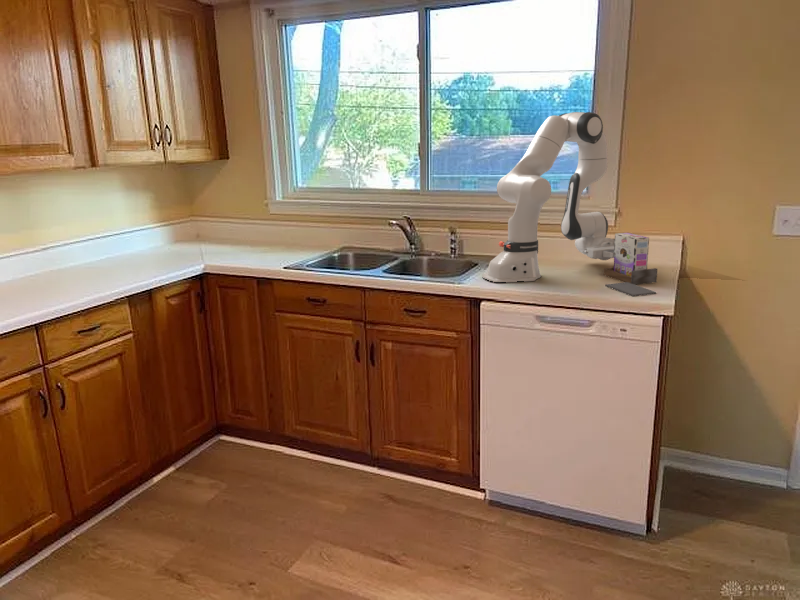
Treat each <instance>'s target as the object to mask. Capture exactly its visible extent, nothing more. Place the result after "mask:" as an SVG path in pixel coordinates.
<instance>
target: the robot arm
mask: <svg viewBox="0 0 800 600" xmlns="http://www.w3.org/2000/svg"><path fill="white" fill-rule="evenodd" d="M603 130H604V124H603V121H602V118H601V116H600V115H599V114H598V113H595V112H590V111H587V112H582V111H581V112H580V111H575V112H574V111H573V112H568V113H561V114H559V115H550V116H548V117H547V118H546V119H545V120H544V122H543V123H542V124H540V127H539V128H538V129H537V131H536V132H535V135H534V137H533V139H532V140H531V142H530V144H529V146H528V148H527V150H526V151H525V153H524V155H522V157H521V159H520V160H519V161H518V162H517V163H516V165H515V166H514V167H513V168H512V169H511V170H510V171H509V172H508V173H506V175H504V176H502V177H501V178H500V179H499V181H498V182H497V184H496V186H497V187H496V193H497V195H498V196H499V197H500V199H502V200H504V201H506V202H507V203H511V204H515V209H514V212H513V214H512V216H510V217H509V218H508V221H507V240H506V241H505V242H504V241H502V240H501V241H499V243H498V245H499V247H502V248H503V249H502V251H501V252H499V254H497V255H496V256H495V257H494V258H493V259H491V260H490V261H489V265H488V270H487V272H484V273H483V274H482V275H481V276H482V277H483V278H485V279H487V280H489V281H488V282H490V281H493V282H492V283H494V282H506V283H518V282H517V281H524V282H535V281H536V280H537V279H539V278H541V276H542V274H541V273H540V267H539V259H538V258H539V257H538V254H539V240H538V227H539V226H538V225H539V218H540V214H541V211H542V208H543V206H544V205H545V203H547V202H548V200H550V197H551V195H552V186H551V183H550V181H548V179H546V178H544V177H542V176H543V174H545V173H547V172H548V171H550V170H551V168H552V167H553V165H554V163H555V161H556V160H557V158H558V157H559V156H558V155H559V154H560V152H561V150H562V148H563V146H564V143H565V142H569V143H570V142H572V143H576V144H577V147H578V159H577V160H578V161H577V167H576V169H575V172H574V173H573V174H572V175H571V176H570V179H569V182H568V187H567V192H566V193H567V194H566V199H565V208H564V213H563V217H562V220H561V222H560V224H561V225H560V231H561V233H562V235H563V236H564V237H565V238H566V239H568V240H570V241H574V240H575V241H574V246H575V248H576V249H577V251H578V252H579V253H581V254H582V255H585V256H587V257H588V258H590V259H593V260H601V261H607V260H611V259H614V258H615V255H616V254H615V253H614V247H615V238H610V237H607V235H608V230H609V221H608V218H607V217H606V216H605V215H604V214H603V212H600V211H592V212H586V213H585V212H584V213H579V208H580V203H581V198H582V197H581V196H582V193H583V192H584V191H585V190H586V189H587V188H588V187H589V186H591V185H592V184H594V183H596V182H598V181H599V180H601V179H602V178H603V177H604V176H605V174H606V173H607V170H608V163H609V162H608V160H609V159H608V156H609V155H608V142H607V138H606V134H605V133H604V132H603ZM485 279H484V280H485ZM487 280H486V281H487Z"/></svg>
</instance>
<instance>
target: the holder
mask: <svg viewBox="0 0 800 600" xmlns="http://www.w3.org/2000/svg"><path fill="white" fill-rule="evenodd" d="M603 275H604V276H605V275H606V277H608V276H609V277H608V278H611V277H612V279H614V280H617V281H619V280H620V282H622V281H623V282H628V283H631V284H634V285H636V284H637V285H644V284H643V283H646V284H653V283H652V282H655V283H658V281H657V280H658V279H657V278H658V268H657V267H656V268H647V269H644V270H635V271H632V274H631V276H628V275H625V274H622V273H619V272H616V271H614V267H607V268H603ZM623 282H622V283H623Z"/></svg>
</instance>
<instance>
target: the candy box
mask: <svg viewBox="0 0 800 600" xmlns="http://www.w3.org/2000/svg"><path fill="white" fill-rule="evenodd" d="M614 239H615V247H614V253H615V254H616V255H615V258H613V268H614V271H616V272H619V273H622V274H625V275H628V276H631V274H632V271H635V270H644V269H648V260H649V259H648V258H649V249H650V247H649V244H650V237H649V236H648V237H647V236H645V235H639V234H635V233H630V232H620V233H615V234H614Z"/></svg>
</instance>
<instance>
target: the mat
mask: <svg viewBox="0 0 800 600" xmlns="http://www.w3.org/2000/svg"><path fill="white" fill-rule="evenodd" d="M606 286H607V288H609V287H610V288H609V289H612V288H613V289H612V290H614V289H615V290H614V291H617V290H618V291H617V292H619V293H622V292H623V293H622V294H625V293H626V294H625V295H628V294H629V295H628V296H630V295H631V297H639V295H641V296H648V295H647V294H650V295H656V294H657V291H655V290H651V289H649V288H646V287H642V286H640V285H638V284H637V285H634V284H631V283H628V282H616V283H609V284H608V283H606V284H605V287H606Z"/></svg>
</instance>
